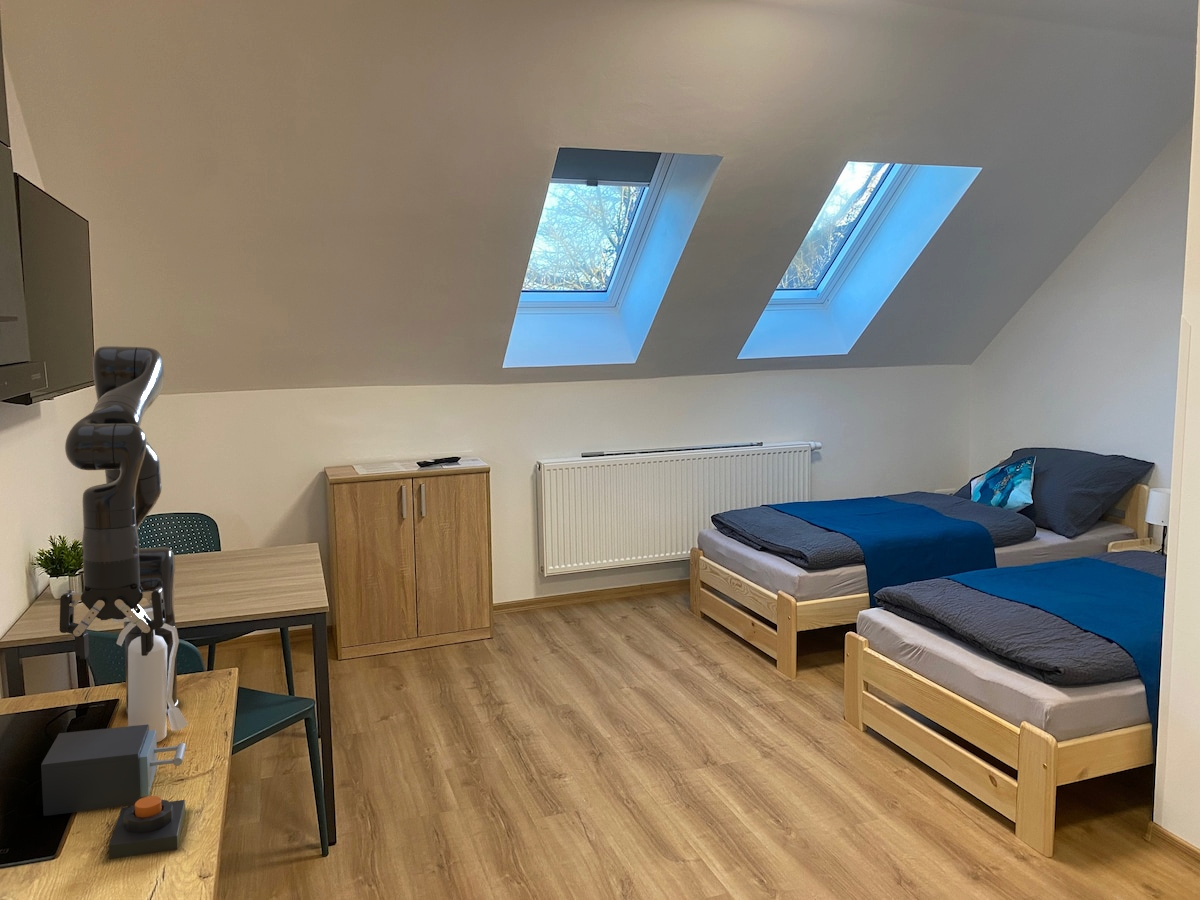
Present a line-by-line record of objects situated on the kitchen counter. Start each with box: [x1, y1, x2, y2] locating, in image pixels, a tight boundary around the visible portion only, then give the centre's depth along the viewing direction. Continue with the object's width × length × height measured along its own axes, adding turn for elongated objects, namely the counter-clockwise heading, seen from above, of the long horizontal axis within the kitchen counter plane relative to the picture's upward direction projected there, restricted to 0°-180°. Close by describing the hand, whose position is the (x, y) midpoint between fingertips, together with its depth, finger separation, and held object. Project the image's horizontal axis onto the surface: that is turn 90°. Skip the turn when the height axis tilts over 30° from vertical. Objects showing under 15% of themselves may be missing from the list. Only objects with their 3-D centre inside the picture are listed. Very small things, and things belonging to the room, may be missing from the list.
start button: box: [135, 795, 162, 818], centre depth 135 cm, size 4×4×2 cm
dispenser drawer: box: [139, 730, 187, 798], centre depth 149 cm, size 17×10×7 cm, turn 109°
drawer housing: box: [40, 724, 149, 817], centre depth 147 cm, size 14×12×9 cm
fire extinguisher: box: [111, 608, 189, 743], centre depth 167 cm, size 7×12×25 cm, turn 111°
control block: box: [108, 799, 186, 860], centre depth 136 cm, size 11×9×4 cm
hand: (115, 655), depth 138 cm, fingers open, 8 cm apart
